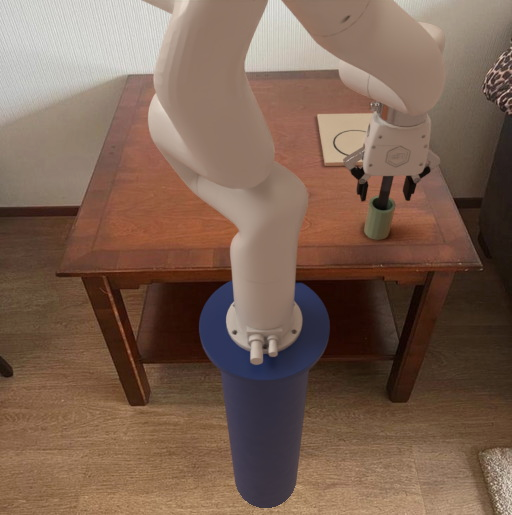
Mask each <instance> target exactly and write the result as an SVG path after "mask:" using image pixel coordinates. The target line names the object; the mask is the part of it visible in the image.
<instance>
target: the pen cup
mask: <svg viewBox="0 0 512 515" xmlns="http://www.w3.org/2000/svg"><path fill="white" fill-rule="evenodd" d="M378 198H379V194H378V195H374V196H372V197H370V198H369V201H368V206H367V210H366V216H365V221H364V227H363V232H364V234H365V235H366V237H368V238H369V239H372V240H376V241H380V240H381V241H382V240H384V239H386V238H388V237H389V235H390V231H391V228H392V223H393V219H394V215H395V211H396V207H397V205H396V201H395V200H394V199H393V198H392V197H389V199H388V204H387V208H386V210H378V209H376V207H377V203H378Z"/></svg>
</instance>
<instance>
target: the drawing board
mask: <svg viewBox="0 0 512 515" xmlns="http://www.w3.org/2000/svg"><path fill="white" fill-rule="evenodd" d="M373 113H374V112H367V113H365V112H363V113H361V112H359V113H358V112H357V113H317V116H316V119H317V124H318V131H319V138H320V144H321V150H322V156H323V162H324V166H325V167H345V165H344V162H343V159H344V158H345V157H347V156H348V155H350V154H352V153H353V152H355V151H357V150H358V149H360V148H362V147H363V143H364V139H365V135H366V131H367V128H368V125H369V123H370V120H371V118H372V115H373ZM355 164H356V165H357V166H358V167H361V166H362V165H363V160H362V159H361V160H359V161H358V162H356V163H355Z"/></svg>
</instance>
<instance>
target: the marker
mask: <svg viewBox="0 0 512 515" xmlns="http://www.w3.org/2000/svg"><path fill="white" fill-rule="evenodd" d="M394 177H395V176H382V179H381V183H380V188H379V193H378V195H379V198H378V203H377V207H376V209H378V210H386V208H387V204H388V199H389V198H390V195H391V191H392V187H393V186H392V185H393V181H394Z"/></svg>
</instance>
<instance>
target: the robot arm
mask: <svg viewBox="0 0 512 515" xmlns="http://www.w3.org/2000/svg"><path fill="white" fill-rule="evenodd" d="M141 1H142V2H145V3H146V4H149V5H151V6H152V7H155V8H157V9H160V10H161V11H164V12H166V13H169V14H171V16H170V19H169V21H168V25H167V27H166V30H165V32H164V35H163V39H162V41H161V45H160V48H159V51H158V55H157V58H156V62H155V65H154V70H153V78H152V79H153V87H154V91H155V93H154V95H153V97H152V98H151V101H150V103H149V107H148V114H147V124H148V125H147V126H148V131H149V135H150V138H151V140H152V142H153V143H154V145H155V147H156V148H157V149H158V151H159V152H160V154H161V155H162V156H163V157H164V159H165V160H166V161H167V163H168V164H169V165H170V167H171V168H172V169H173V171H174V172H175V173H176V175H177V176H178V177H179V178H180V179H181V181H182V182H183V183H184V184H185V185H186V187H187V188H188V189H189V190H190V191H191V192H192V193H193V194H194V195H195V196H196V197H197V198H199V199H200V200H202V202H204V203H206V204H207V205H209V207H211V208H212V209H214V210H215V211H217V212H218V213H220V214H221V215H222V216H223V217H224V218H225V219H227V220H228V221H230V222H231V223H232V224H233V225H234V226H235V227H236V229H237V230H238V231H237V233H236V234H235V235H234V237H233V238H232V239H231V243H230V247H229V257H230V266H231V281H233V293H234V302H233V303H232V304H231V306H230V308H229V310H228V312H227V316H226V325H227V330H228V333H229V335H230V337H231V339H232V340H233V341H234V342H235V343H236V344H237V345H238V346H240V347H241V348H243V349H245V350H247V351H249V352H250V362H251V363H252V364H254V365H259V364H261V363H263V354H269V356H271V357H276V356H277V355H278V352H279V351H282V350H284V349H286V348H287V347H289V346H291V345H292V344H293V343H294V342H295V341H296V339H297V338H298V336H299V335H300V332H301V329H302V313H301V310H300V308H299V306H298V305H297V304H296V302H295V301H294V295H295V282H296V277H297V260H298V249H299V248H298V247H299V238H300V233H301V230H302V226H303V224H304V220H305V218H306V214H307V211H308V207H309V200H310V199H309V198H310V197H309V192H308V189H307V187H306V186H305V184H304V182H303V181H302V180H301V179H300V178H299V176H297V175H296V173H294V172H293V171H292V170H290V169H289V168H288V167H286V166H284V165H283V164H281V163H279V162H277V161H276V160H275V157H276V151H275V150H276V149H275V142H274V138H273V134H272V132H271V130H270V127H269V125H268V122H267V121H266V118H265V116H264V113H263V111H262V109H261V107H260V105H259V103H258V101H257V98H256V96H255V94H254V92H253V90H252V87H251V85H250V82H249V79H248V76H247V74H246V69H245V68H246V67H245V66H246V58H247V56H248V52H249V50H250V49H249V48H250V45H251V43H252V40H253V38H254V36H255V33H256V30H257V29H258V27H259V24H260V21H261V19H262V17H263V16H264V13H265V11H266V9H267V6H268V3H269V0H141ZM280 1H281V2H282V3H283V4H284V6H285V7H286V8H287V9H288V10H289V11H290V12H291V14H292V15H293V16H294V17H295V19H296V20H297V21H298V22H299V23H300V24H301V26H302V27H303V28H304V29H305V31H306V32H307V34H308V35H309V36H310V37H311V38H312V40H313V41H314V42H315V44H317V45H319V46H320V47H321V48H322V49H323V50H326V51H327V52H328V53H330V54H331V55H333V56H334V57H336V58H337V59H339V63H338V76H339V79H340V80H341V82H342V83H343V85H344V86H346V87H347V88H348V89H350V90H352V91H353V92H355V93H357V94H359V95H362V96H364V97H366V98H368V99H372V100H373V101H370V102H369V105H368V107H369V108H368V109H369V111H370V112H372V113H373V115H372V118H371V120H370V123H369V125H368V128H367V131H366V135H365V139H364V143H363V147H362V148H360V149H358V150H357V151H355V152H353V153H352V154H350V155H348V156H347V157H345V158H344V159H343V162H344V165H345V166H344V167H345V168H346V169H347V170H348V171H349V173H350V174H351V176H353V177H354V178H355V179H356V180H357V183H356V184H357V185H356V195H358V196H359V198H360V202H361V203H362V202H365V201H366V200H367V194H368V189H369V182H368V181H369V179H370V178H371V177H383V176H394V177H405V179H404V182H403V187H402V194H403V198H404V200H405V201H406V202H410V201H411V198H412V195H414V194H415V192H416V188H417V184H420V182H421V181H422V179H423V178H425V177H426V176H428V175H429V174H430V173H431V171H432V170H434V169H435V168H436V167H438V166H439V165H440V164H441V159H440V157H439V155H437V154H436V153H435V152H433V151H432V150H431V149H430V148H429V147H430V140H431V131H432V119H431V117H430V115H429V114H428V113H429V111H430V110H432V108H434V107H435V106H436V105H437V103H438V102H439V100H440V98H441V97H442V94H443V92H444V89H445V86H446V82H447V81H446V79H447V70H446V64H445V60H444V57H443V54H444V50H445V46H446V35H445V33H444V31H443V29H441V28H440V27H439V26H437V25H435V24H433V23H430V22H425V21H417V20H416V19H415V18H414V17H412V16H411V15H410V14H409V13H408V12H406V10H404V9H403V7H402V6H400V5H399V4H398V3H397V2H396V1H395V0H280ZM361 159H362V160H363V165H362V166H357V165H356V164H355V163H356V162H358V161H359V160H361Z"/></svg>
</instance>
